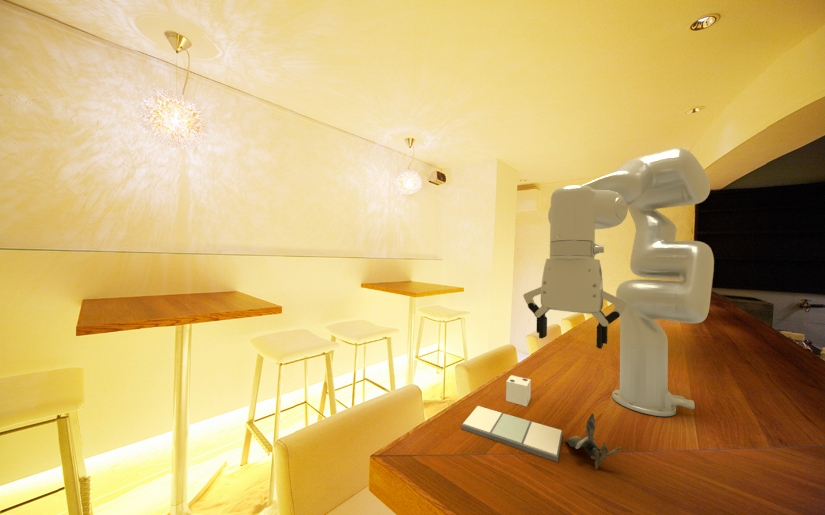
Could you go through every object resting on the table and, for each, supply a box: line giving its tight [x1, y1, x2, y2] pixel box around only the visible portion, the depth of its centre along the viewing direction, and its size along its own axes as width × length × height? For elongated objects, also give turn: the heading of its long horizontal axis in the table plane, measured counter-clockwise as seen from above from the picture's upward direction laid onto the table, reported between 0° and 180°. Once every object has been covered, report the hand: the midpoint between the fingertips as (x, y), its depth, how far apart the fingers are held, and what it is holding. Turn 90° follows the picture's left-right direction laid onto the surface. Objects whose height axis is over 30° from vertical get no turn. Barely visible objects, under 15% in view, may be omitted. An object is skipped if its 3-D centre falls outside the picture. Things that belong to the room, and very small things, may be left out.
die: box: [505, 375, 532, 407], centre depth 74 cm, size 5×5×5 cm
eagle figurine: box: [564, 413, 622, 471], centre depth 53 cm, size 8×7×9 cm
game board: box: [460, 405, 564, 463], centre depth 60 cm, size 18×10×1 cm, turn 58°
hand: (569, 341), depth 55 cm, fingers open, 9 cm apart
